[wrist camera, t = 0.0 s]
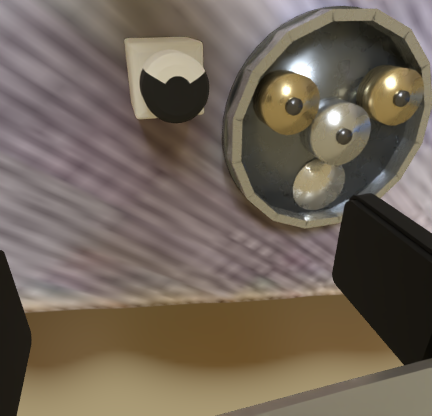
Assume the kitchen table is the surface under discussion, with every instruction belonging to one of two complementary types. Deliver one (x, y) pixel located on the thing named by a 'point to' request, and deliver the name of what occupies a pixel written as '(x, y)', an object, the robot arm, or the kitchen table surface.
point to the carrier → (326, 113)
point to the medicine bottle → (166, 78)
